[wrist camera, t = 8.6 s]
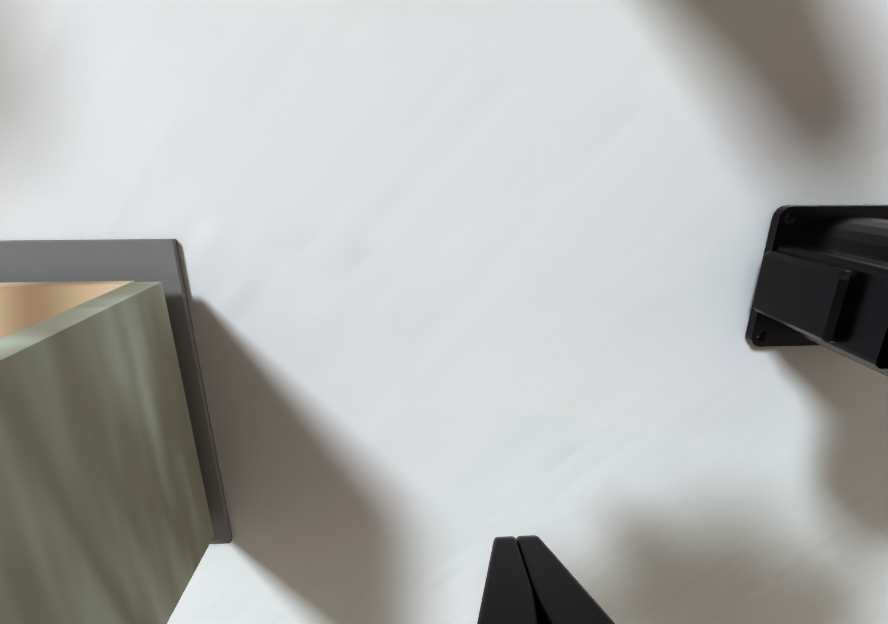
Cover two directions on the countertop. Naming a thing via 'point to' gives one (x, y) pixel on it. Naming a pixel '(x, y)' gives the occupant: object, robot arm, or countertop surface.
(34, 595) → the wooden bookend
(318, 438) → the countertop surface
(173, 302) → the mat
